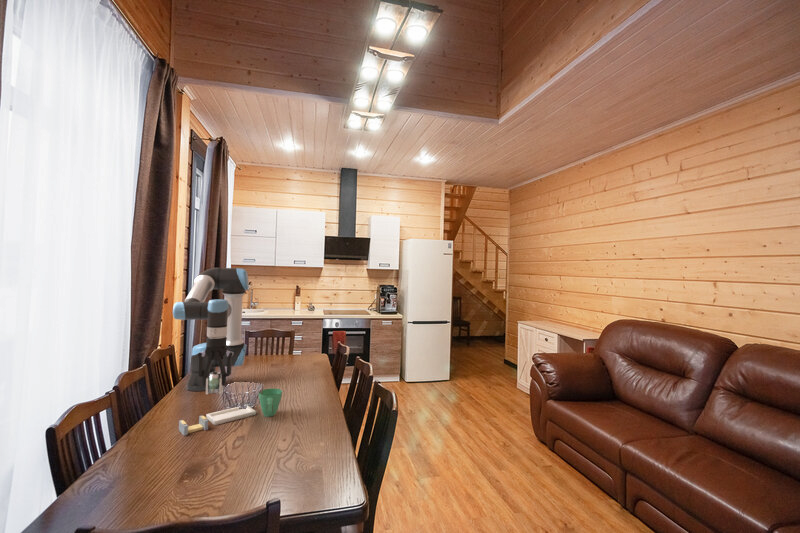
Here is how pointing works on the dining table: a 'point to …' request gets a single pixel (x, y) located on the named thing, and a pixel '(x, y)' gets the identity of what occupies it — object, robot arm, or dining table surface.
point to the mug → (270, 401)
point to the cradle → (185, 429)
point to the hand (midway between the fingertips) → (214, 393)
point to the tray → (229, 415)
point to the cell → (214, 382)
